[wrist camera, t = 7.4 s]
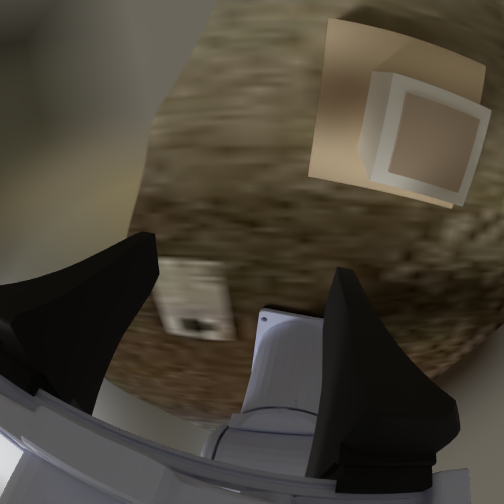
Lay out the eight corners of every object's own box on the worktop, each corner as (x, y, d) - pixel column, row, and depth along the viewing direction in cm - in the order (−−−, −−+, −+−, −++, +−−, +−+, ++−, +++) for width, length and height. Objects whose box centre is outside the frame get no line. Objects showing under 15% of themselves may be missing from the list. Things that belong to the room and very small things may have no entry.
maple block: (437, 189, 18) (451, 208, 16) (310, 161, 20) (308, 176, 17) (465, 64, 13) (486, 66, 11) (327, 25, 14) (328, 17, 12)
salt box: (430, 168, 15) (464, 209, 11) (357, 148, 16) (370, 183, 11) (448, 95, 13) (494, 111, 8) (371, 71, 13) (394, 72, 9)
